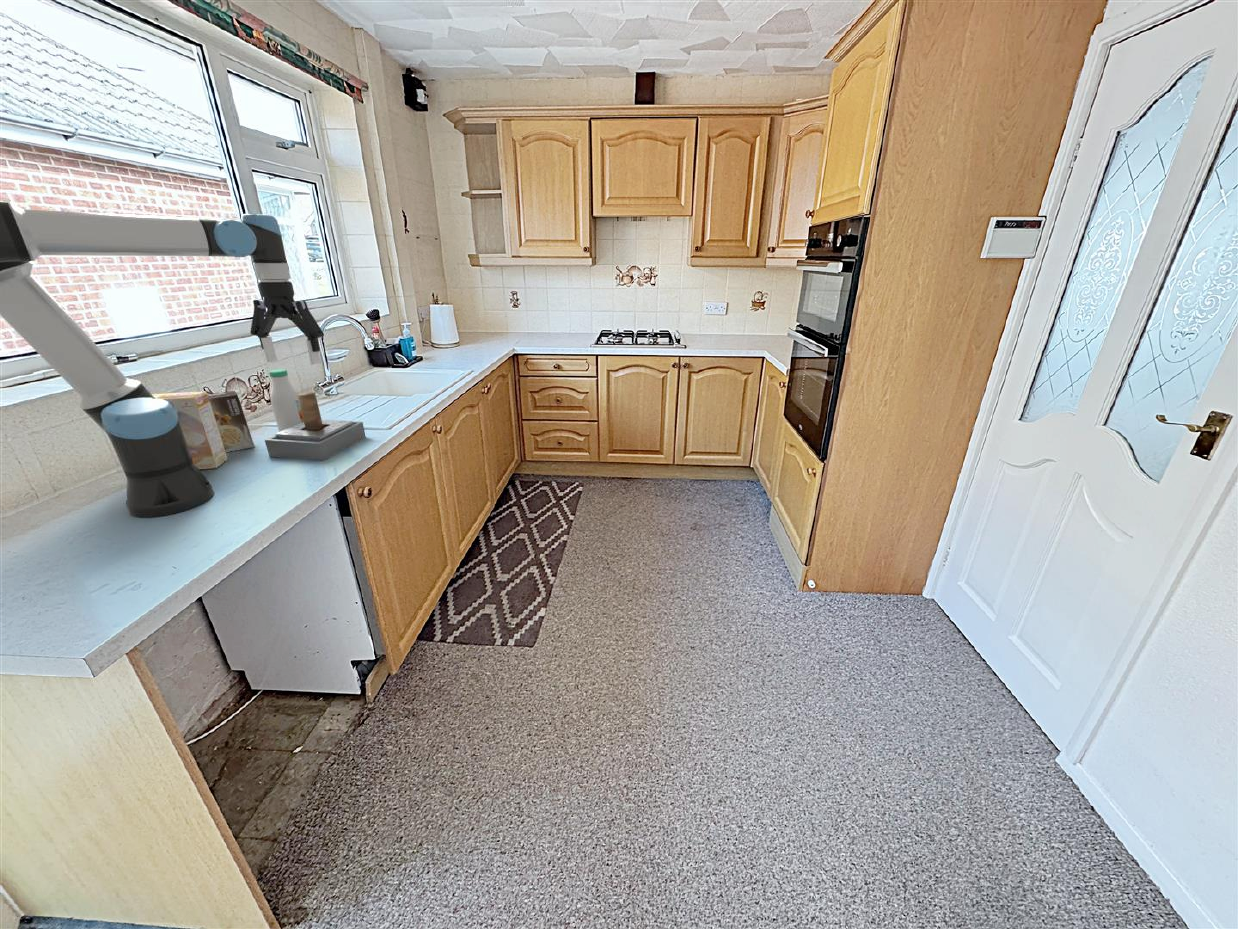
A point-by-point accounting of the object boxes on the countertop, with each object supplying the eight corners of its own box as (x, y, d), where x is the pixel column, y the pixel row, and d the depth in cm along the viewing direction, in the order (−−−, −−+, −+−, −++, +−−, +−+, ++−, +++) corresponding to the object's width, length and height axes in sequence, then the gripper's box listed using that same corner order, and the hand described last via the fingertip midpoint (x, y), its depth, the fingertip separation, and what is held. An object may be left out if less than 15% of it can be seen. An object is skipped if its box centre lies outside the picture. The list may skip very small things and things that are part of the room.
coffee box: (251, 441, 152) (236, 389, 145) (255, 447, 147) (239, 394, 141) (214, 448, 146) (196, 395, 140) (216, 455, 142) (198, 400, 135)
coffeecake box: (149, 474, 129) (122, 400, 122) (165, 464, 135) (139, 393, 128) (217, 468, 133) (193, 396, 125) (228, 459, 139) (207, 390, 132)
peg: (319, 446, 146) (307, 396, 140) (305, 445, 146) (293, 395, 140) (330, 441, 150) (318, 392, 144) (316, 440, 150) (304, 391, 145)
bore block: (324, 453, 141) (320, 436, 139) (279, 450, 143) (275, 433, 141) (355, 436, 153) (352, 421, 151) (314, 433, 155) (310, 418, 153)
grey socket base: (323, 460, 139) (319, 443, 137) (269, 456, 141) (264, 439, 139) (365, 437, 156) (362, 421, 154) (316, 433, 158) (312, 418, 156)
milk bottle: (298, 436, 156) (282, 373, 148) (274, 436, 156) (256, 373, 148) (313, 428, 163) (298, 367, 155) (289, 428, 163) (273, 367, 155)
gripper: (327, 281, 131) (343, 361, 140) (244, 278, 135) (265, 357, 143) (306, 282, 125) (325, 367, 133) (220, 280, 128) (242, 362, 136)
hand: (294, 362), depth 138 cm, fingers open, 13 cm apart
